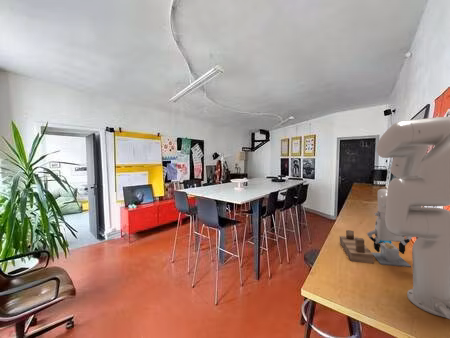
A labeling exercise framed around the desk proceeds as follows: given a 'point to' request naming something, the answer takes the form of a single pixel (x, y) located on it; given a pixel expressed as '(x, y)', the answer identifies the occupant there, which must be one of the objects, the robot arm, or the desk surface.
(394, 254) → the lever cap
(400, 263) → the mat
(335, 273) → the desk surface
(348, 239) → the brown stepped block
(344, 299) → the desk surface
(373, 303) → the desk surface
